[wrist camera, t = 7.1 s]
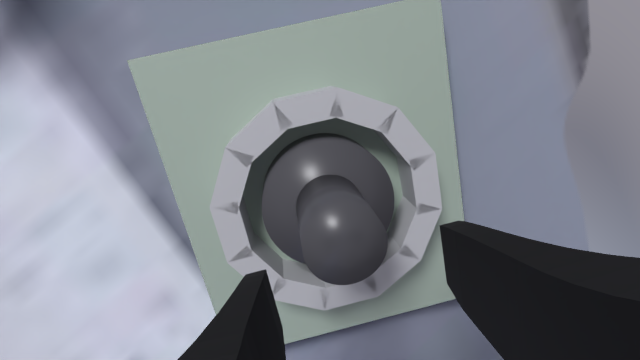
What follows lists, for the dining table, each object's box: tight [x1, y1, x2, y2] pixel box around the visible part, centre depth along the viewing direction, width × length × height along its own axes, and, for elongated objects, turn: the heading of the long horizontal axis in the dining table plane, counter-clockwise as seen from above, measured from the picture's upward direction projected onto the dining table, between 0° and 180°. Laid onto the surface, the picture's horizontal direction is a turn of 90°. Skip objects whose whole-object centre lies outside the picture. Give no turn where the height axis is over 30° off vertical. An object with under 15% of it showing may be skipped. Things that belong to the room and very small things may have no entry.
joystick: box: [262, 133, 395, 285], centre depth 16 cm, size 6×6×6 cm
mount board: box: [127, 0, 464, 344], centre depth 18 cm, size 16×14×4 cm
